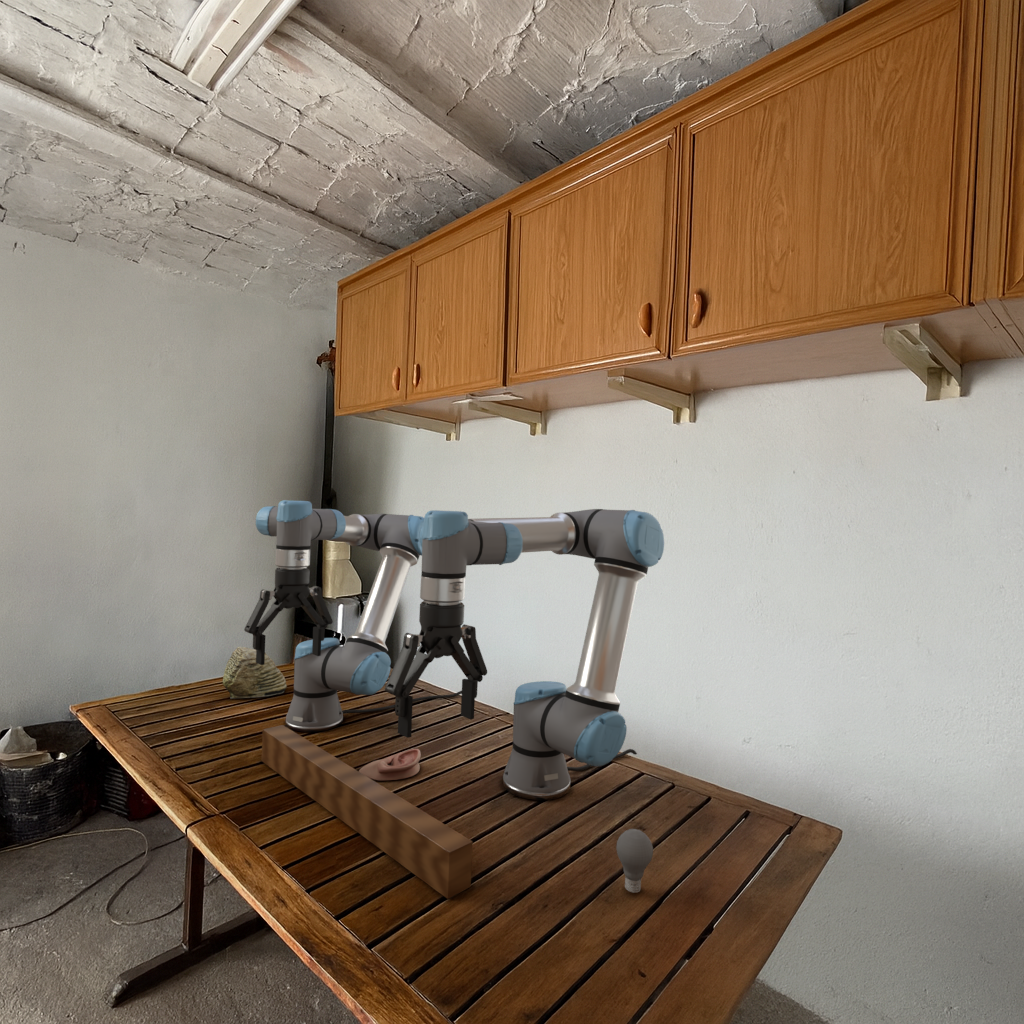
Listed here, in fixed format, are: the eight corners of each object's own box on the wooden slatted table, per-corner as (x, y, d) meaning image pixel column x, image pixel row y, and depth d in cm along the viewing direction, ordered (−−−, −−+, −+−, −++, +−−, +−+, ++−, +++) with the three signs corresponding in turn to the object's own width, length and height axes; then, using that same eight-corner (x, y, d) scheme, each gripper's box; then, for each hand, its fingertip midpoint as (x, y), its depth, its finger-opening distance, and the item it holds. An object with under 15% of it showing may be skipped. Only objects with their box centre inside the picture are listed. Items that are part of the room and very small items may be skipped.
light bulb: (610, 879, 108) (613, 822, 108) (644, 879, 109) (647, 822, 109) (619, 902, 102) (622, 840, 102) (655, 901, 103) (658, 840, 103)
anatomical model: (353, 759, 143) (374, 741, 154) (352, 777, 143) (373, 757, 154) (408, 767, 140) (426, 748, 152) (408, 785, 140) (425, 764, 152)
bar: (261, 761, 150) (262, 729, 150) (281, 755, 154) (282, 724, 153) (447, 899, 101) (449, 852, 101) (470, 886, 105) (472, 841, 105)
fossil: (218, 695, 195) (220, 647, 195) (278, 685, 208) (279, 640, 207) (228, 703, 189) (230, 653, 188) (289, 692, 201) (290, 645, 201)
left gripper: (245, 571, 134) (241, 671, 135) (349, 566, 152) (345, 654, 152) (230, 568, 139) (227, 663, 140) (333, 563, 157) (329, 648, 158)
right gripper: (393, 611, 96) (388, 750, 96) (509, 598, 114) (504, 715, 114) (366, 604, 101) (361, 736, 102) (481, 593, 119) (476, 705, 119)
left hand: (289, 659), depth 146 cm, fingers open, 13 cm apart
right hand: (437, 725), depth 108 cm, fingers open, 13 cm apart
